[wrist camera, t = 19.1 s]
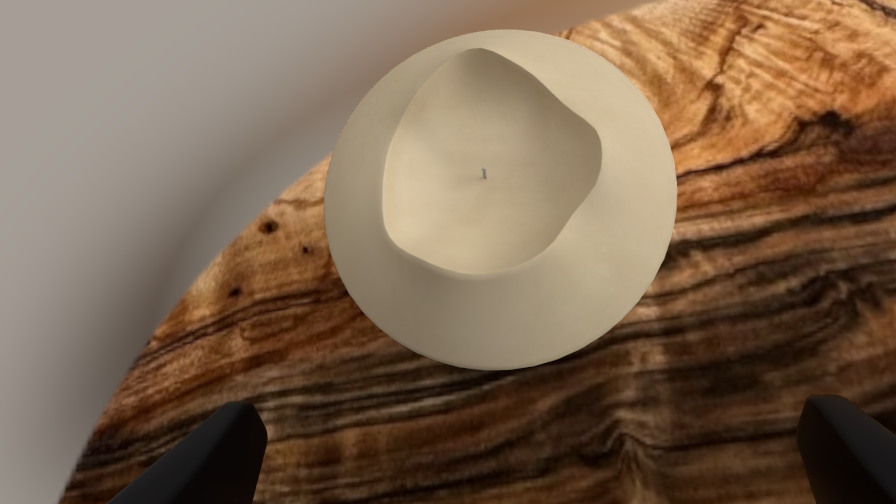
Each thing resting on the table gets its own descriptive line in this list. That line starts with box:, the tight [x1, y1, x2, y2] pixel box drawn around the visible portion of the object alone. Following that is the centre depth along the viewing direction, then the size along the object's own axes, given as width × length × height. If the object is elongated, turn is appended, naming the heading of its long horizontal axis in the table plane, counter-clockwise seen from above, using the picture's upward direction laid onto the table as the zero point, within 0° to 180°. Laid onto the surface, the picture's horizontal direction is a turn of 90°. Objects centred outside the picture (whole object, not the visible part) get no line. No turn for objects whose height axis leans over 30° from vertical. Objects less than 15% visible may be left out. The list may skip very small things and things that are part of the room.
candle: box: [324, 30, 677, 370], centre depth 12 cm, size 6×6×10 cm
